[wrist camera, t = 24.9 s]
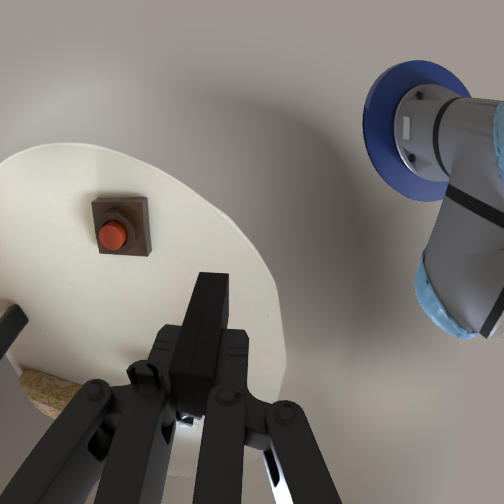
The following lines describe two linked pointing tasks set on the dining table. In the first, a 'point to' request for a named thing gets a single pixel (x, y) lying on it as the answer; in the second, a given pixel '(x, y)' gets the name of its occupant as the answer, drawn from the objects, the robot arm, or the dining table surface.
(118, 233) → the button
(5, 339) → the wine bottle
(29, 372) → the bread
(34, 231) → the dining table surface
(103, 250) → the button block
